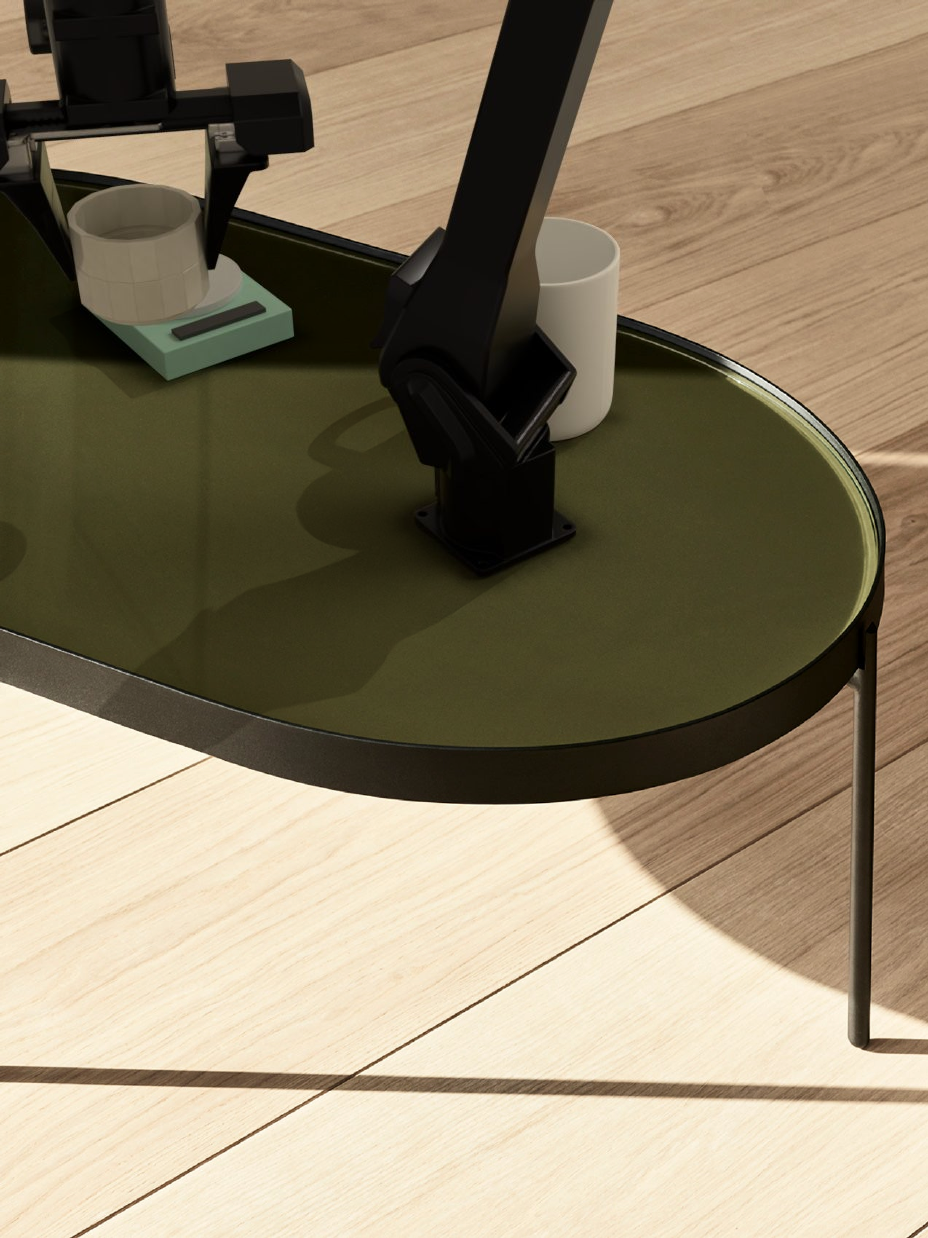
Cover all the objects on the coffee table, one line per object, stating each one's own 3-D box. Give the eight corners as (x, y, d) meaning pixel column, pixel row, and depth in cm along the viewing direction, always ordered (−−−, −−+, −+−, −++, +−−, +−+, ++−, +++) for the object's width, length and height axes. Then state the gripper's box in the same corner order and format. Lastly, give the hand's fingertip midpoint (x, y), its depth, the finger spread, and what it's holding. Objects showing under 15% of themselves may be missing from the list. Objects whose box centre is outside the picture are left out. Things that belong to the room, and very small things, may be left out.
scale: (294, 336, 106) (291, 300, 104) (167, 381, 102) (162, 343, 100) (202, 265, 114) (198, 229, 112) (81, 303, 110) (74, 267, 108)
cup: (559, 461, 95) (564, 300, 88) (394, 394, 101) (387, 239, 94) (639, 397, 100) (648, 241, 93) (477, 338, 106) (476, 186, 99)
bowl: (233, 304, 90) (224, 217, 86) (119, 343, 86) (105, 255, 83) (170, 256, 94) (159, 172, 91) (59, 292, 91) (44, 206, 87)
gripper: (283, -91, 87) (303, 192, 96) (-89, -69, 84) (-29, 219, 94) (304, -18, 78) (324, 284, 88) (-109, 9, 76) (-41, 316, 86)
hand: (143, 272), depth 89 cm, fingers closed on bowl, 7 cm apart
